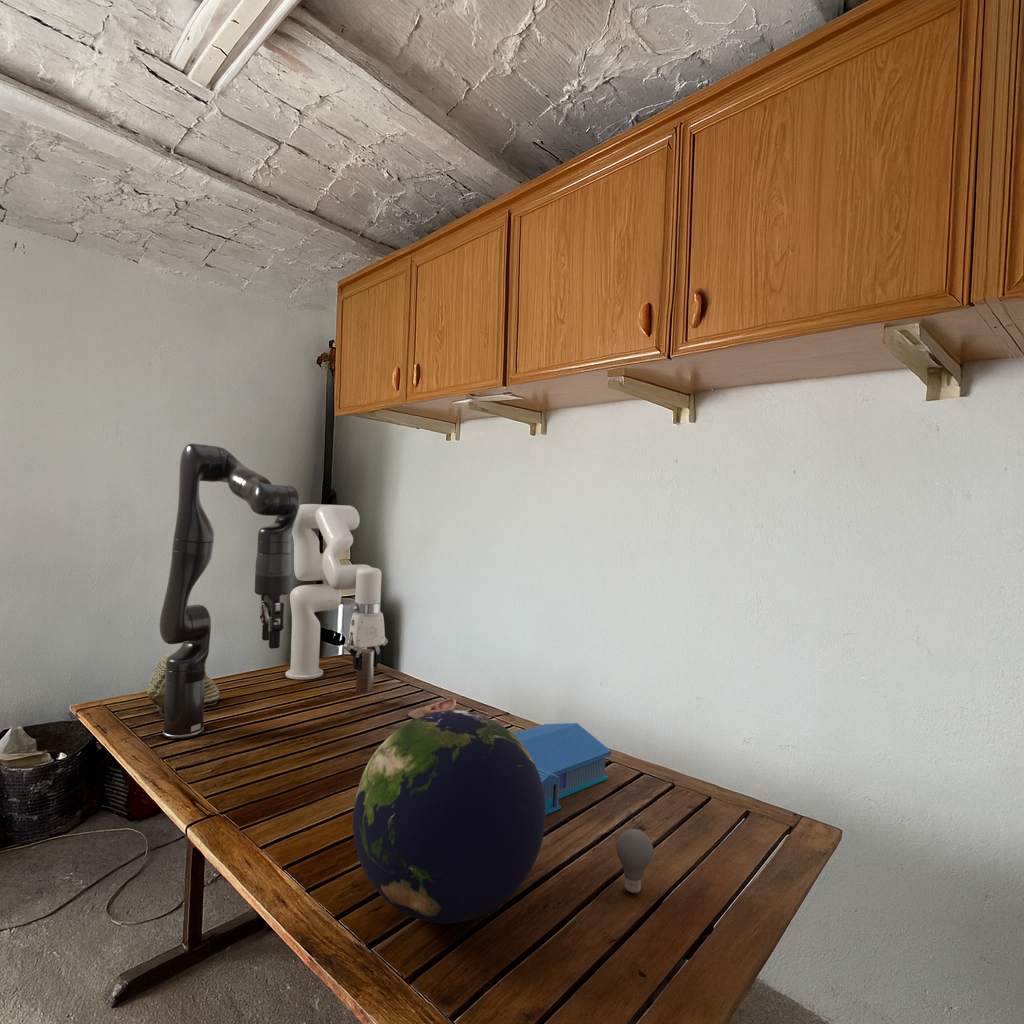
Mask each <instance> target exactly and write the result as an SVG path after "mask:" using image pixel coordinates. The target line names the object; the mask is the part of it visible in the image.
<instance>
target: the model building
mask: <svg viewBox="0 0 1024 1024" xmlns="http://www.w3.org/2000/svg"><path fill="white" fill-rule="evenodd" d="M512 734H513V735H514V736H515V737H516V738H517V739H518V740H519V741H520V742H521V743H522V744H523V746H524V747H525V748H526V749H527V751H528V752H529V754H530V756H531V757H532V759H533V761H534V763H535V765H536V768H537V770H538V773H539V775H540V779H541V782H542V786H543V791H544V796H545V806H546V816H547V815H549V814H552V813H554V812H556V811H559V810H561V809H562V806H561V805H560V799H563V798H565V797H567V796H570V795H572V794H575V793H578V792H580V791H583V790H584V789H587V788H589V787H591V786H594V785H596V784H599V783H601V782H603V781H606V780H609V776H608V775H606V758H607V757H610V756H612V750H611V749H609V748H608V747H607V746H606V745H605V744H603V742H601V741H600V740H598V739H597V738H596V737H595V736H594V735H592V734H591V733H590V732H589V731H588V730H586V729H585V728H584V727H583V726H581V725H580V724H579V723H578V722H572V723H571V722H568V723H564V722H563V723H544V724H540V725H537V726H533V727H531V728H527V729H524V730H523V729H522V730H520V731H516V732H512Z"/></svg>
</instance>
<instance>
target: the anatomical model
mask: <svg viewBox="0 0 1024 1024" xmlns="http://www.w3.org/2000/svg"><path fill="white" fill-rule="evenodd" d="M456 706H457V700H456V698H448V699H444V700H440V701H437V702H433V703H430V704H428V705H425V706H422V707H419V708H418V707H417V708H415V709H413V710H412V711H410V712H408V714H407V716H408V717H409V718H412V719H417V718H419V717H421V716H424V715H428V714H431V713H435V712H441V711H455V708H456Z"/></svg>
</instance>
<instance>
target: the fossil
mask: <svg viewBox="0 0 1024 1024" xmlns="http://www.w3.org/2000/svg"><path fill="white" fill-rule="evenodd" d="M170 655H171V654H165V655H164V656H163V657H162V658H161V659H160V660H159V662H158V663H157V666H156V667H155V669H154V670H153V672H152V675H151V677H150V680H149V684H148V688H147V697H148V699H149V700H150V701H152V703H153V704H154V706H155V711H158V712H159V711H160V710H161V709H163V708H164V705H165V674H166V660H167V658H168V657H169V656H170ZM220 698H221V696H220V690H219V688H218V686H217V685H216V683H215V682H214V681H213V679H212V678H211V677H209V675H208V674H207V672H206V671H205V693H204V707H207V706H213V705H215V704H217V703H218V701H219V699H220Z"/></svg>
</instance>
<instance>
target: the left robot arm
mask: <svg viewBox="0 0 1024 1024" xmlns="http://www.w3.org/2000/svg"><path fill="white" fill-rule="evenodd" d="M178 474H179V475H178V476H179V477H178V503H177V513H176V521H175V527H174V534H173V541H172V548H171V558H170V566H169V567H170V568H169V574H168V579H167V581H168V582H167V588H166V591H165V595H164V600H163V603H162V608H161V613H160V617H159V634H160V637H161V640H162V641H163V642H164V643H165V644H167V645H179V644H181V645H180V647H179V648H178V649H177V650H176V651H174V652H173V653H172V654H169V655H170V656H169V657H168V658H167V660H166V674H165V705H164V708H163V709H161V710H160V711H159V710H158V714H159V715H160V717H162V718H163V730H162V737H164V738H166V739H169V740H185V739H190V738H191V739H192V738H194V737H197V736H199V735H202V734H203V732H204V730H205V729H204V727H205V725H204V722H205V721H204V718H205V706H204V693H205V672H206V664H207V663H206V662H207V659H208V656H209V653H210V643H211V633H212V619H211V618H212V617H211V614H210V612H209V610H208V608H207V607H206V606H205V605H203V604H190V605H189V600H190V596H191V593H192V591H193V589H194V586H195V585H196V583H197V582H198V581H199V579H200V578H201V576H202V575H203V573H204V572H205V570H206V569H207V568H208V566H209V564H210V562H211V560H212V557H213V549H214V543H215V542H214V541H215V531H214V527H213V525H212V523H211V521H210V519H209V517H208V515H207V514H206V511H205V510H204V507H203V505H202V503H201V499H200V482H208V483H217V482H222V483H226V484H227V486H228V489H229V490H230V491H231V493H232V494H234V496H236V497H238V498H239V499H241V500H242V501H244V502H246V503H247V505H248V506H249V508H250V509H251V511H252V512H253V513H254V514H257V515H260V516H265V517H275V520H274V522H273V523H272V524H269V525H266V526H263V527H261V528H259V530H258V533H257V546H256V547H257V548H256V549H257V550H256V552H257V553H256V559H255V571H254V593H255V595H258V596H260V612H259V613H260V615H259V619H260V622H261V624H262V625H261V626H262V627H261V639H262V640H263V641H268V648H269V649H271V650H273V649H279V648H280V647H281V632H282V630H284V627H285V626H284V611H285V610H284V609H285V604H284V602H281V596H286V595H288V594H290V593H291V575H292V572H291V571H292V558H291V546H292V545H291V543H292V541H291V540H292V530H293V527H294V524H295V520H296V517H297V514H298V511H299V508H300V505H301V497H300V493H299V491H298V489H296V488H295V486H292V485H287V484H272V483H271V481H270V480H269V479H268V478H266V477H265V476H263V475H262V474H260V473H258V472H256V471H254V470H252V469H250V468H248V467H247V466H245V465H244V464H243V463H242V462H241V461H239V460H238V459H237V457H236V456H234V455H233V453H232V452H230V451H228V450H227V449H226V448H224V447H221V446H217V445H211V444H210V445H209V444H202V443H201V444H200V443H187V444H186V445H185V446H184V448H183V450H182V452H181V455H180V461H179V473H178ZM275 623H276V624H275Z"/></svg>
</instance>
